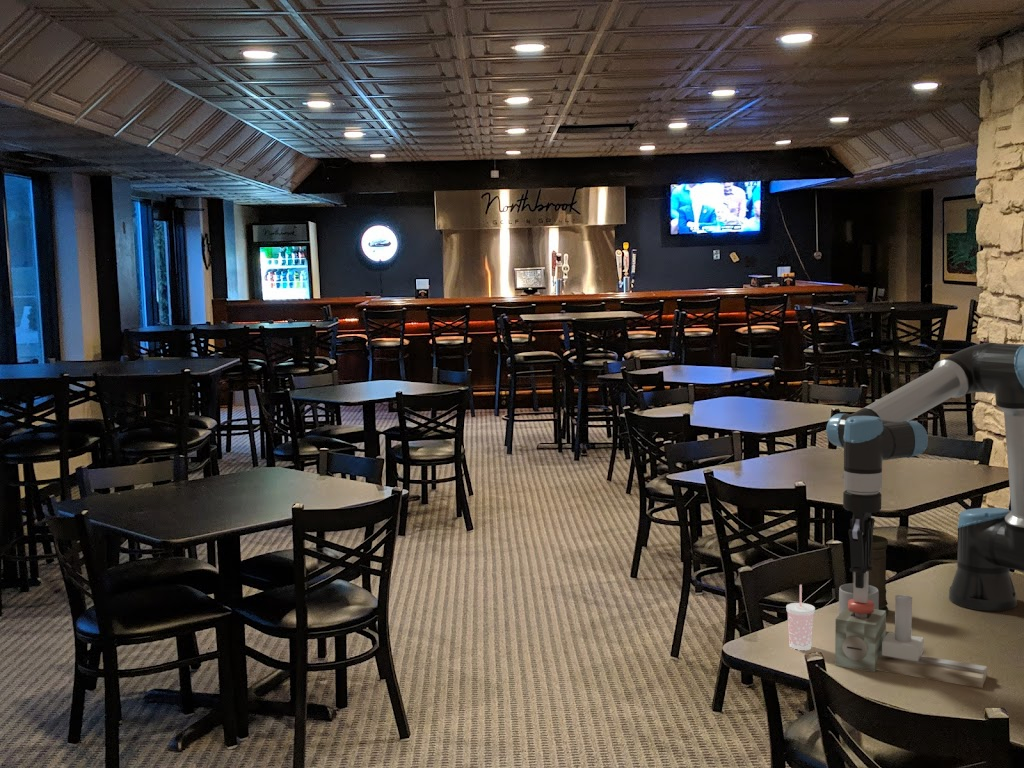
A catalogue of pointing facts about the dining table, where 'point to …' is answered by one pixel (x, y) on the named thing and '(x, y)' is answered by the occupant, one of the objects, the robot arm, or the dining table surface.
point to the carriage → (903, 633)
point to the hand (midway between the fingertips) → (860, 601)
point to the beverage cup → (800, 624)
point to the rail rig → (864, 652)
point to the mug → (847, 594)
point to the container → (878, 569)
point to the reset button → (861, 608)
